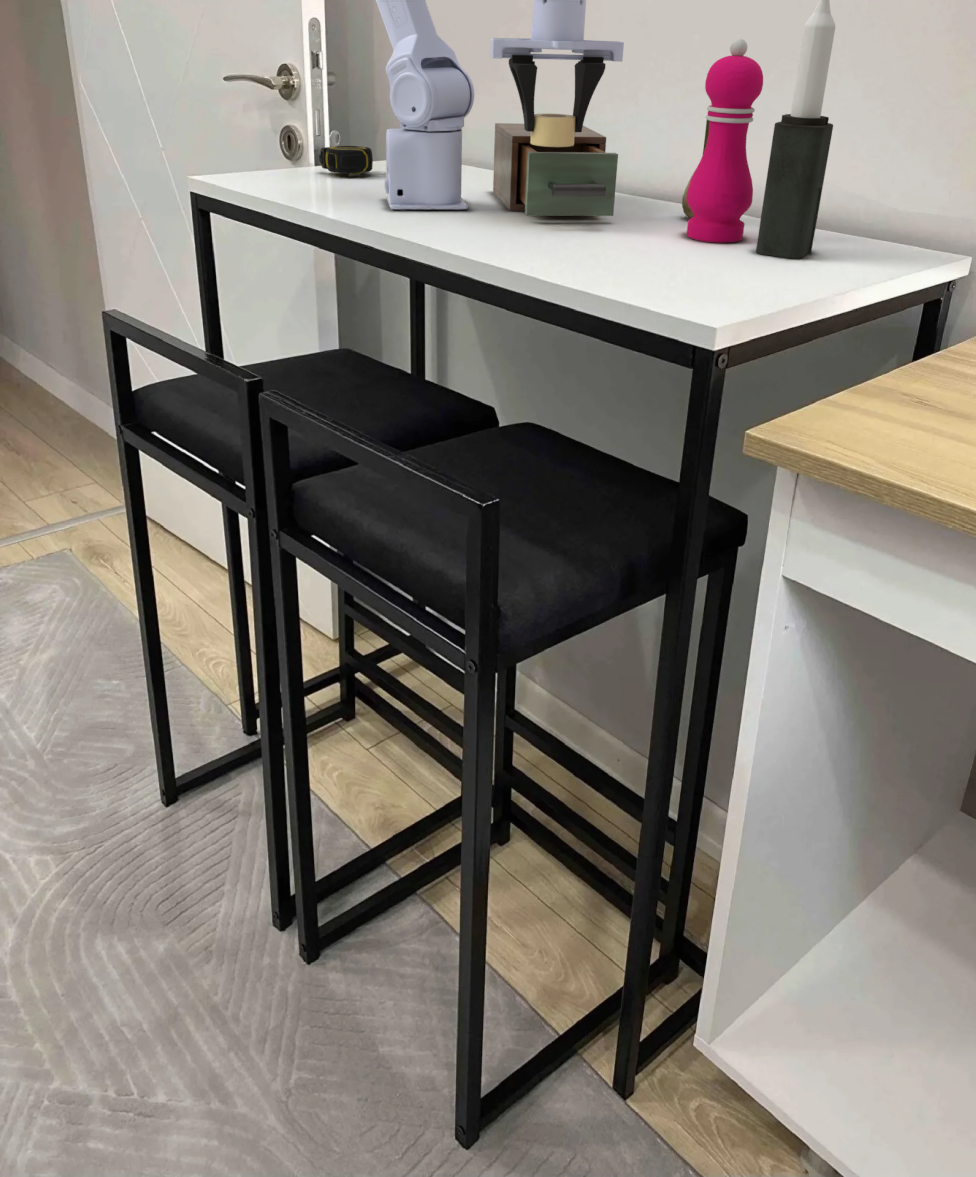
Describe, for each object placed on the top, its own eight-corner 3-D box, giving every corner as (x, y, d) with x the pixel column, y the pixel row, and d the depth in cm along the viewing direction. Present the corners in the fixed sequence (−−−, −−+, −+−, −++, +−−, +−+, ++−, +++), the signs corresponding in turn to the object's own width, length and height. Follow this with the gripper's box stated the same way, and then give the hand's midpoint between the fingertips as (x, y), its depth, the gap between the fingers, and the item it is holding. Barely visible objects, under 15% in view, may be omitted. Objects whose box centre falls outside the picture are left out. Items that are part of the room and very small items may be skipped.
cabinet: (600, 211, 132) (606, 137, 128) (509, 211, 131) (512, 135, 126) (577, 193, 144) (581, 124, 140) (492, 192, 142) (494, 123, 138)
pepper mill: (708, 246, 115) (734, 40, 106) (669, 233, 121) (690, 36, 111) (760, 241, 118) (790, 40, 109) (719, 229, 124) (744, 37, 114)
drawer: (622, 222, 121) (627, 159, 118) (533, 222, 120) (536, 158, 116) (588, 197, 135) (592, 140, 132) (508, 197, 134) (511, 139, 131)
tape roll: (534, 147, 118) (535, 117, 117) (526, 141, 123) (528, 112, 121) (578, 147, 119) (580, 118, 118) (569, 142, 123) (570, 113, 122)
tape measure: (364, 170, 156) (363, 143, 154) (379, 177, 151) (378, 149, 149) (319, 172, 154) (318, 144, 152) (333, 179, 148) (331, 150, 146)
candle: (799, 259, 110) (845, -16, 98) (752, 253, 113) (792, -17, 100) (814, 251, 114) (860, -15, 102) (768, 245, 117) (808, -16, 104)
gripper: (498, -8, 109) (494, 134, 116) (635, -4, 111) (623, 136, 118) (489, -9, 115) (485, 126, 122) (618, -4, 117) (608, 128, 124)
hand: (552, 131), depth 120 cm, fingers closed on tape roll, 5 cm apart
